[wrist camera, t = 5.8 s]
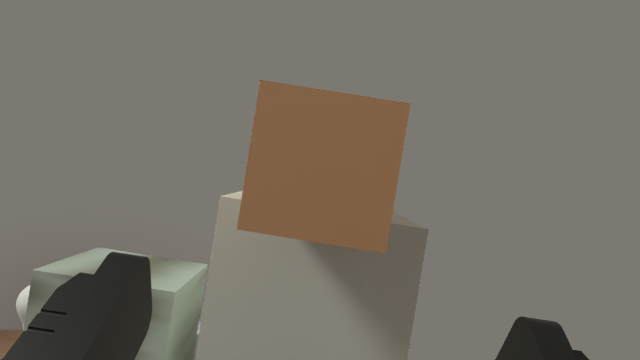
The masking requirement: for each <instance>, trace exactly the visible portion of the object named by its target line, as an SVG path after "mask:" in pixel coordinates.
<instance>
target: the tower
mask: <svg viewBox="0 0 640 360" xmlns="http://www.w3.org/2000/svg"><path fill="white" fill-rule="evenodd" d="M111 252H118V253H124V254H131V255H137V256H144V257H148V258H149V261H150V271H151V290H152V316H151V321H150V325H149V329H148V332H147V334H146V337H145V339H144V341H143V343H142V345H141V347H140V349H139V351H138V353H137V356H136V358H135V360H193V356H194V349H195V343H196V336H197V330H198V324H199V317H200V311H201V305H202V298H203V292H204V285H205V279H206V273H207V265H206V264H200V263H194V262H188V261H180V260H175V259H169V258H162V257H156V256H149V255H143V254H137V253H130V252H124V251H117V250H111V249H104V248H95V249H92V250H89V251H87V252H84V253H80V254H77V255H75V256H72V257H69V258H66V259H63V260H60V261H57V262H55V263H51V264H49V265H45V266H43V267H40V268H37V269H34V270H33V271H32V278H31V284H30V291H29V297H28V304H27V311H26V317H25V324H24V330H23V332H24V331H26V330H27V328H28V325H29V324H30V323H31V321H32V320H33V319H34V317H35V316H36V315H37V313H40V312H41V308H42V307H43V306H44V304H45V303H46V302H47V300H48V299H49V298H50V296H51V295H52V294H53V293H54V291H55V290H56V289H57V288H58V287H59V286H61V285H62V284H64V283H65V282H67V281H68V280H70V279H71V278H73V277H74V276H75V275H77V274H78V273H80V272H82V273H88V274H95V272H96V271H97V269H98V268H99V266H100V265H101V263H102V262H103V261H104V259H105V258H106V256H107V255H108V254H109V253H111Z"/></svg>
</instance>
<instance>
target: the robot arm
mask: <svg viewBox="0 0 640 360" xmlns="http://www.w3.org/2000/svg"><path fill="white" fill-rule="evenodd" d="M151 316H152V290H151V271H150V261H149V258H148V257H144V256H137V255H131V254H124V253H118V252H111V253H109V254H108V255H107V256H106V258H105V259H104V261H103V262H102V263H101V265H100V266H99V268H98V269H97V271H96V272H95V274H88V273H82V272H80V273H78V274H77V275H75V276H74V277H73V278H71V279H70V280H68V281H67V282H65V283H64V284H62V285H61V286H59V287H58V288H57V289H56V290H55V291H54V293H53V294H52V295H51V296H50V298H49V299H48V300H47V302H46V303H45V304H44V306H43V307H42V308H41V312H40V313H37V315H36V316H35V317H34V319H33V320H32V321H31V323H30V324H29V325H28V328H27V330H26V331H24V332H23V333H22V334H21V336H20V337H19V338H18V340H17V341H16V342H15V343H14V345H13V346H12V347H11V349H10V350H9V351H8V353H7V354H6V355H5V357H4V358H3V359H2V360H135V358H136V356H137V353H138V351H139V349H140V347H141V345H142V343H143V341H144V339H145V337H146V334H147V332H148V329H149V325H150V321H151ZM495 360H589V359H588V358H587V357H586V356H585V355H584V354H583V353H582V351H577V350H572V348H571V346H570V343H569V341H568V339H567V337H566V335H565V333H564V331H563V329H562V327H561V326H560V325H559V324H558V323H557V322H553V321H546V320H540V319H534V318H527V317H519V318H517V319H516V320H515V322H514V324H513V326H512V328H511V330H510V332H509V334H508V336H507V338H506V340H505V342H504V344H503V346H502V348H501V350H500V352H499V354H498V356H497V358H496V359H495Z"/></svg>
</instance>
